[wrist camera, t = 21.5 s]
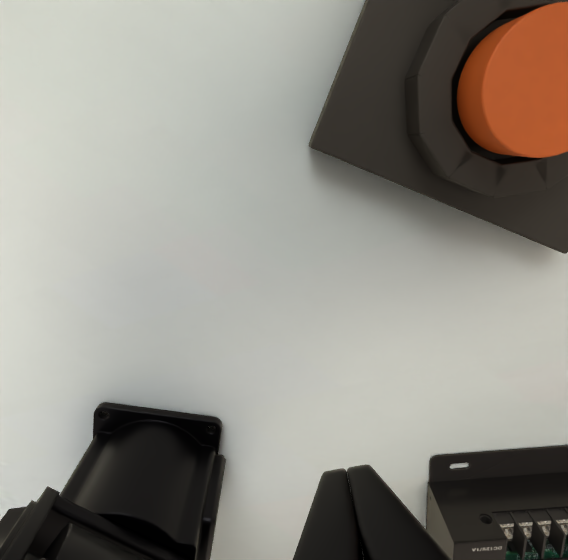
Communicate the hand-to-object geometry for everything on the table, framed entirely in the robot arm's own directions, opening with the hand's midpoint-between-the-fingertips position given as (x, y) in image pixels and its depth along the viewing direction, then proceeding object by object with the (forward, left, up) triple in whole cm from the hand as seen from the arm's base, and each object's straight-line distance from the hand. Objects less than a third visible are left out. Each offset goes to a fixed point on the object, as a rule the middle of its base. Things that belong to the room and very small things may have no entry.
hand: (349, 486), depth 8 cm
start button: (+6, +8, -10) cm, 15 cm away
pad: (+6, +8, -13) cm, 17 cm away
